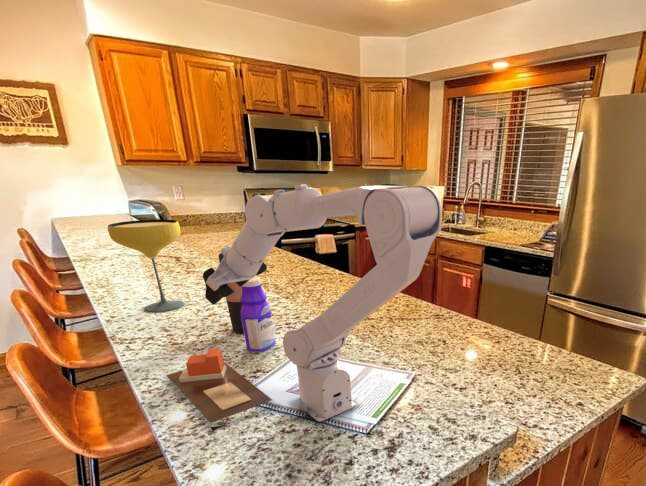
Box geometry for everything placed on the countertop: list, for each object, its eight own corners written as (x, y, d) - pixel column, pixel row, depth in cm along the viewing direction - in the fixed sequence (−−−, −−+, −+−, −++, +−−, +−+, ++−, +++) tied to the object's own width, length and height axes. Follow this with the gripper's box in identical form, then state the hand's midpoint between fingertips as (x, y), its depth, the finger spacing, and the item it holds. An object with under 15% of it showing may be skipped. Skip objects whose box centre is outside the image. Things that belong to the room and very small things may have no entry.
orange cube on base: (226, 368, 89) (222, 347, 87) (223, 378, 85) (218, 356, 83) (185, 372, 87) (179, 351, 85) (179, 382, 83) (174, 360, 81)
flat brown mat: (273, 406, 77) (272, 398, 77) (212, 430, 71) (210, 421, 70) (221, 365, 93) (220, 358, 93) (167, 381, 87) (165, 374, 86)
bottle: (265, 358, 97) (254, 283, 89) (243, 356, 98) (229, 282, 90) (280, 346, 103) (270, 275, 96) (259, 344, 104) (247, 274, 97)
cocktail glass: (134, 302, 137) (111, 221, 126) (196, 295, 144) (179, 218, 133) (128, 319, 122) (101, 229, 111) (197, 310, 129) (178, 224, 118)
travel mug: (228, 334, 111) (212, 256, 102) (237, 324, 117) (224, 250, 109) (257, 333, 111) (245, 256, 102) (265, 323, 118) (254, 250, 109)
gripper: (259, 217, 79) (233, 261, 87) (202, 247, 68) (179, 293, 77) (287, 246, 80) (259, 286, 89) (236, 279, 69) (210, 320, 78)
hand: (224, 291), depth 83 cm, fingers open, 7 cm apart
